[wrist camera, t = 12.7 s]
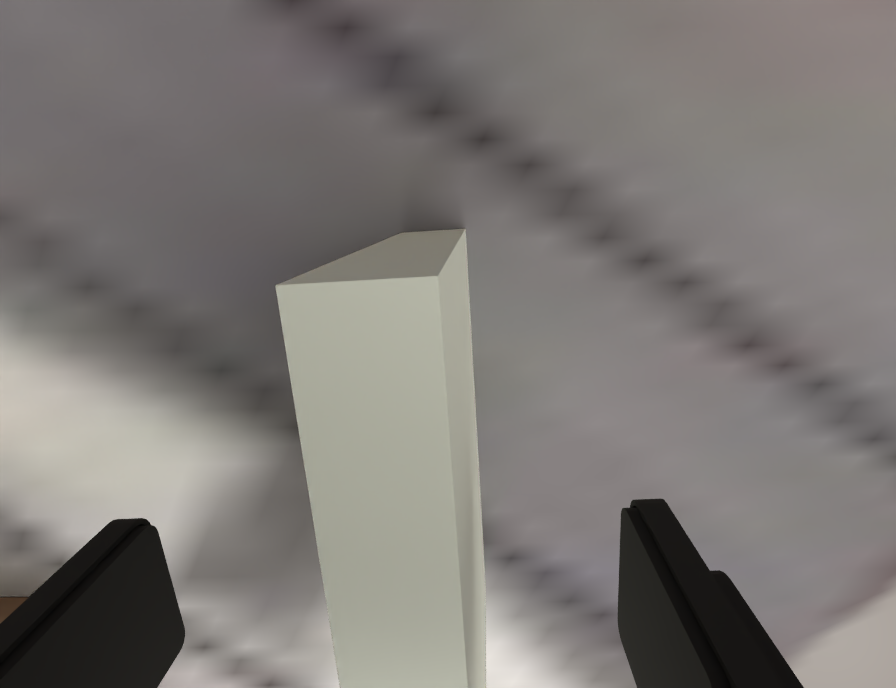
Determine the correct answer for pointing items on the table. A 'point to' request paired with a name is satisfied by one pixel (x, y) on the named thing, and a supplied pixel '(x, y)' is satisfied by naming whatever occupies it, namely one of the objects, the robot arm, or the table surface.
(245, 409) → the table surface
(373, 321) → the cover plate
